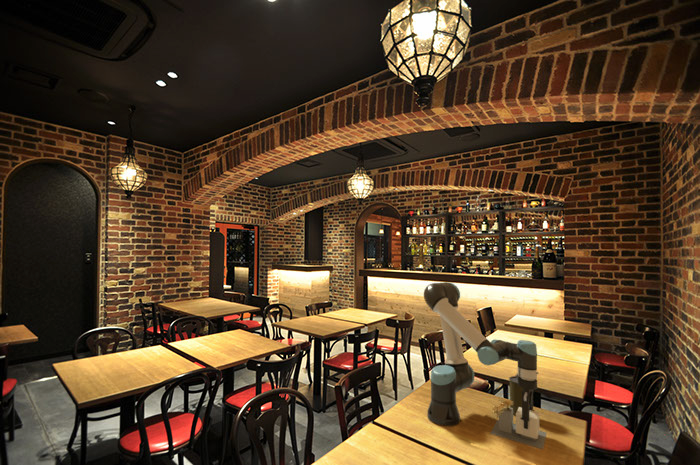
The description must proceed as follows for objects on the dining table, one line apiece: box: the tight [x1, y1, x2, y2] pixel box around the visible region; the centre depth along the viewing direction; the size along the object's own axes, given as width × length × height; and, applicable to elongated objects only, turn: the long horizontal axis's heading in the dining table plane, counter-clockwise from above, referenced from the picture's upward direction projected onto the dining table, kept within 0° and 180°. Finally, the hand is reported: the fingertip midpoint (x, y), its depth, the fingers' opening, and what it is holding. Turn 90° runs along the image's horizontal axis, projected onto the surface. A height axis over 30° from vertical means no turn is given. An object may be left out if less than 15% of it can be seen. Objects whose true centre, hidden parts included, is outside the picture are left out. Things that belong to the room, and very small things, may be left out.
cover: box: [515, 407, 540, 439], centre depth 144 cm, size 8×8×8 cm
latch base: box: [490, 408, 548, 450], centre depth 146 cm, size 20×16×10 cm
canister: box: [508, 372, 523, 417], centre depth 164 cm, size 11×10×20 cm
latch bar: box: [491, 396, 513, 419], centre depth 145 cm, size 15×6×4 cm, turn 135°
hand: (527, 431), depth 144 cm, fingers closed on cover, 8 cm apart
